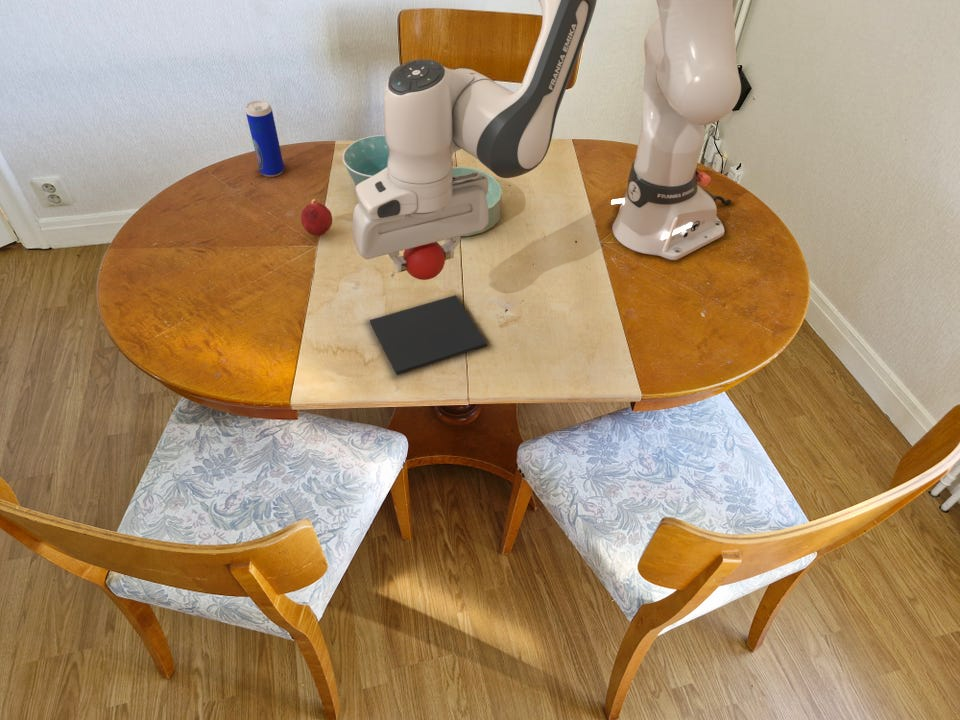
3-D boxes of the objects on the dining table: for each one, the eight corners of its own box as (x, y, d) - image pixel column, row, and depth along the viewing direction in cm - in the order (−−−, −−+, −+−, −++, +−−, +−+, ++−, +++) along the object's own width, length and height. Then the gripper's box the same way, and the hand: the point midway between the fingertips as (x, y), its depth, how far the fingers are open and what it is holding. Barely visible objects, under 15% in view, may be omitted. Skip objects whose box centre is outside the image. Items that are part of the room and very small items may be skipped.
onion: (328, 246, 132) (322, 211, 127) (300, 241, 133) (292, 207, 127) (338, 228, 136) (333, 193, 130) (310, 224, 137) (304, 189, 131)
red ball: (436, 258, 110) (435, 225, 106) (451, 282, 106) (451, 248, 102) (398, 268, 108) (395, 234, 104) (413, 292, 104) (410, 259, 100)
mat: (455, 298, 123) (455, 295, 123) (486, 346, 115) (487, 342, 115) (370, 323, 118) (369, 319, 118) (396, 375, 110) (396, 371, 110)
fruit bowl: (479, 182, 149) (479, 160, 145) (514, 226, 138) (516, 203, 134) (405, 200, 143) (403, 177, 139) (436, 247, 133) (435, 223, 129)
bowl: (412, 215, 140) (410, 179, 134) (337, 206, 141) (332, 170, 135) (428, 173, 151) (427, 138, 145) (358, 165, 152) (354, 131, 146)
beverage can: (259, 166, 151) (243, 101, 140) (283, 163, 152) (269, 98, 141) (261, 179, 147) (245, 113, 136) (285, 176, 149) (272, 110, 138)
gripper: (479, 158, 101) (477, 235, 111) (343, 188, 94) (354, 267, 105) (498, 180, 97) (494, 258, 107) (358, 213, 91) (367, 292, 101)
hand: (424, 263), depth 106 cm, fingers closed on red ball, 6 cm apart
